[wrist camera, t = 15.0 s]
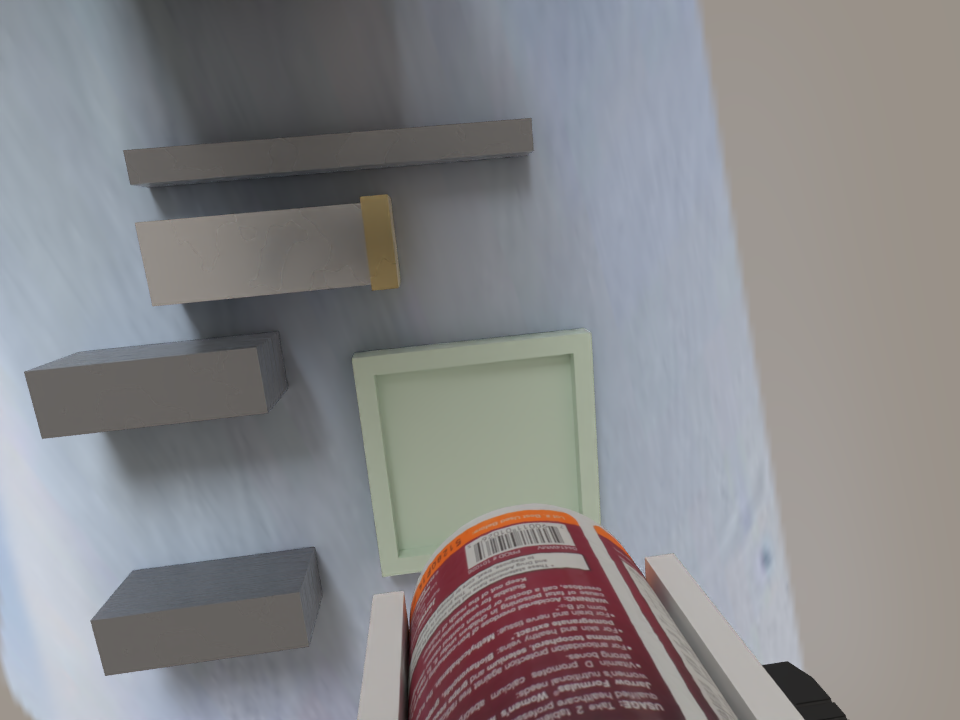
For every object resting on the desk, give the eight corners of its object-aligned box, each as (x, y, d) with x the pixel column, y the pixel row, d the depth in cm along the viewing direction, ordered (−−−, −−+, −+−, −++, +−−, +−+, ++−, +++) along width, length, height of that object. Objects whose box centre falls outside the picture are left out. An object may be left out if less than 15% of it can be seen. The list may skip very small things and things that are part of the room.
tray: (354, 352, 26) (351, 358, 24) (583, 328, 26) (591, 332, 25) (383, 562, 28) (382, 577, 27) (594, 534, 29) (602, 547, 27)
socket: (79, 351, 24) (24, 371, 21) (278, 331, 25) (256, 347, 22) (144, 620, 27) (105, 675, 24) (322, 595, 28) (309, 646, 24)
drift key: (162, 218, 24) (129, 216, 21) (391, 198, 24) (387, 194, 22) (180, 303, 24) (150, 312, 22) (400, 281, 25) (399, 288, 22)
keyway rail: (141, 155, 23) (123, 150, 22) (524, 124, 24) (531, 118, 23) (148, 187, 23) (130, 185, 22) (526, 155, 25) (533, 150, 23)
